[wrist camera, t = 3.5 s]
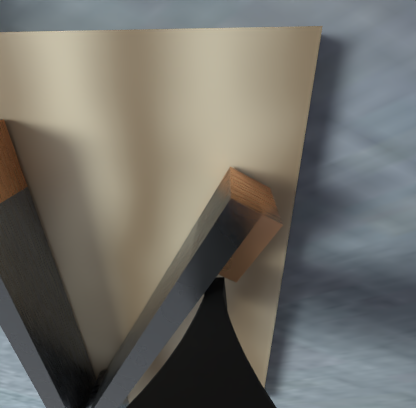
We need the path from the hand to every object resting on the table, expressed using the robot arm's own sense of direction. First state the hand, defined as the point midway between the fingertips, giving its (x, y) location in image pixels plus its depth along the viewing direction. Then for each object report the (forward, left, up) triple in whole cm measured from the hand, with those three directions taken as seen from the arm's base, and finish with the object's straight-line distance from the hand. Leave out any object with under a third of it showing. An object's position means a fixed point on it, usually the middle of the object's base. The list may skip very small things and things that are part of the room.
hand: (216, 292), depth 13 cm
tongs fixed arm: (+9, +3, -1) cm, 9 cm away
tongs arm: (+3, +3, -1) cm, 4 cm away
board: (+4, +2, -3) cm, 5 cm away
